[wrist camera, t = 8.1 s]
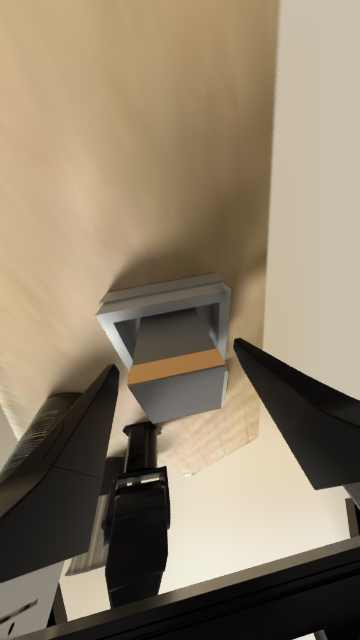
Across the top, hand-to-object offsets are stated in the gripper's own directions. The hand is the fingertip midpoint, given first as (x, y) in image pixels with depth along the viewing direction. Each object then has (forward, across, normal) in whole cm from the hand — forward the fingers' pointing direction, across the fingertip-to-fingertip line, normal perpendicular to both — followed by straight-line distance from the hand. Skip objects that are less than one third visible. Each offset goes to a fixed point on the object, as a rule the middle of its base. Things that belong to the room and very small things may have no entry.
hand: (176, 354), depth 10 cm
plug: (+3, 0, 0) cm, 3 cm away
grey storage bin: (+5, 0, +2) cm, 5 cm away
